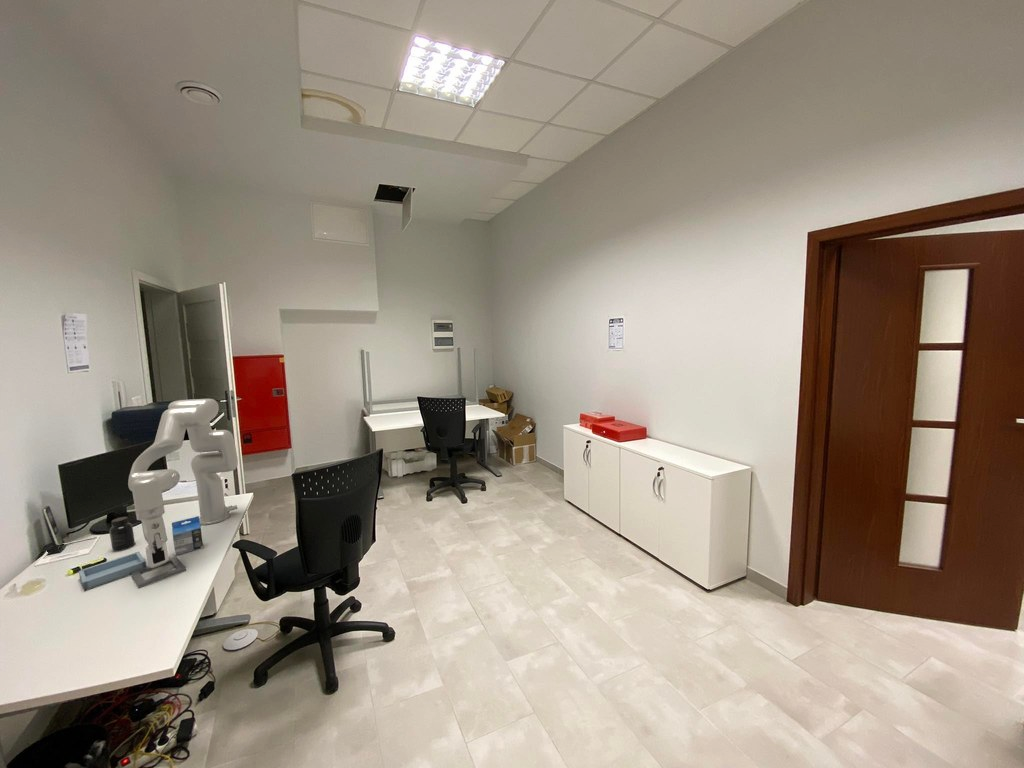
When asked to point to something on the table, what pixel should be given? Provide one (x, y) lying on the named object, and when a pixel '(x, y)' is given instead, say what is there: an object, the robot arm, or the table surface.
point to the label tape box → (187, 535)
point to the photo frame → (67, 555)
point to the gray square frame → (141, 582)
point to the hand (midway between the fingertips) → (157, 559)
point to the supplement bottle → (121, 534)
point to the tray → (111, 570)
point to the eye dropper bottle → (150, 559)
